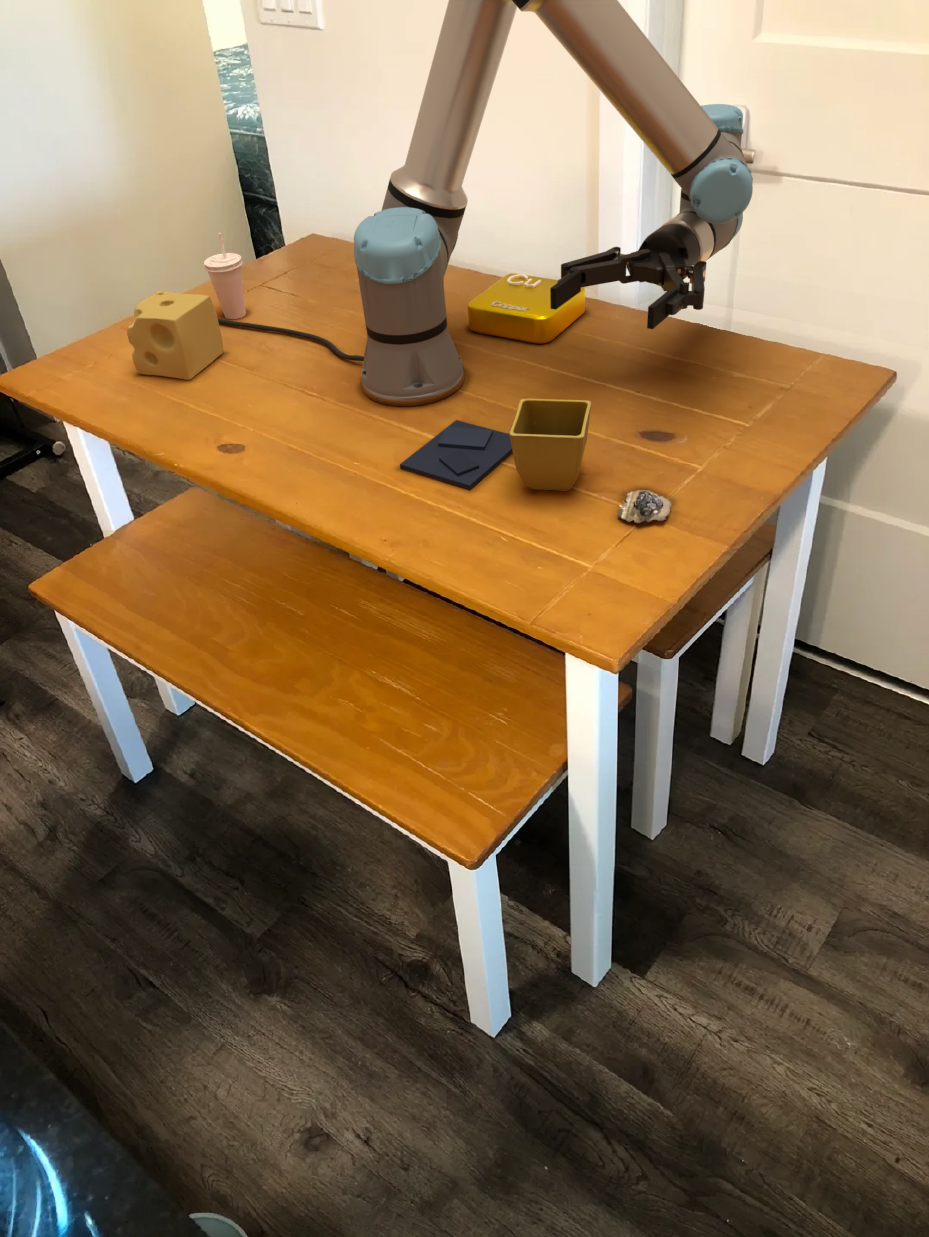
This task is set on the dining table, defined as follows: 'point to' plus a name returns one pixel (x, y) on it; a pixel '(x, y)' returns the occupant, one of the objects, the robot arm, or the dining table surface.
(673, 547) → the dining table surface
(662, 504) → the grey mineral rock
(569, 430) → the flower pot
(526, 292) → the element tile
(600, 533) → the dining table surface
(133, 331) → the cheese
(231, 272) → the smoothie
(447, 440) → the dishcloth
